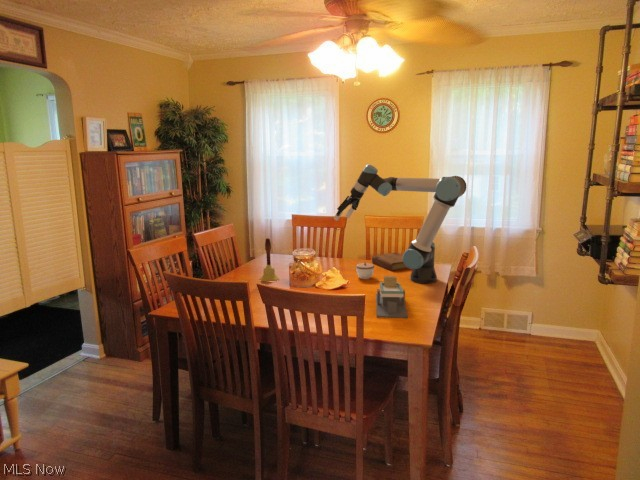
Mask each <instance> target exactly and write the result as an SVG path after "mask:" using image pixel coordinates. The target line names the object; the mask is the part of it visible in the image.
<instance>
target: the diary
mask: <svg viewBox="0 0 640 480" xmlns="http://www.w3.org/2000/svg"><path fill="white" fill-rule="evenodd" d="M371 260H372V261H371V264H373V265H376V266H378V267H381V268H383V269H385V270H388V271H390V272H395V271H402V270H409V269H410V268H408V267H407V266H406V265H405V264H404V262H403V254H400V253H398V252H393V253H385V254H377V255H373V256H372V259H371Z"/></svg>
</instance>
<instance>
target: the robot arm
mask: <svg viewBox="0 0 640 480" xmlns="http://www.w3.org/2000/svg"><path fill="white" fill-rule="evenodd" d="M369 186H370V187H371V188H373V190H375V191H376V192H377V193H378V194H379V195H381V196H383V197H387V196H388V195H389V194H390V192H393V191H394V192H395V191H396V192H399V191H401V192H418V193H434V195H433V196H432V197H433V200H434V202H433V203H432V205H431V208H430V210H429V212H428V214H427V216H426V218H425V220H424V222H423V224H422V225H421V228H420V230H419V232H418V233H417V237H416V239H413V240H411V242H410V244H409V246H408V248H407V249H406V250H405V251H404V253H403V254H402V255H403V262H404V264H405V265H406V266H407V267H408V268H410V269H411V273H410V277H409V280H410V281H411V282H414V283H419V284H432V283H435V282H437V281H438V276H437V272H436V269H435V254H436V253H435V251H436V245H435V242H434V241H435V238H436V237H437V234H438V231H439V230H440V228H441V226H442V225H443V222H444V220H445V218H446V216H447V214H448V212H449V210H450V208H453V207H455V206H456V204H457V201H458V199H459V198H461V197H462V196H463V195H464V194H465V193H466V191H467V182H466V180H465V179H464V178H463V177H461V176H459V175H452V176H442V177H441V178H426V177H425V178H424V177H423V178H422V177H394V176H390V177H385V178H383V177H381V176H380V175H379V174H378V169H377V167H376V166H374V165H372V164H366V165H365V167H364V168H363V170H362V171H361V173H360V174H359V176H358V178H357V179H356V180H355V183H354V184H353V186H352V188H351V190H350V196H349V195H347V196H346V198H345V199H344V200H343V201H342V202H341V204H340V205H339V206H338V207H337V211H336V213H335V215H334V217H333V219H334V221H336V222H338V221H339V219H340V218H341V216H342V214H343V213H344V210H346V209H347V208H348V207H349V206H351V207H350V208H349V209H348V210H347V212H346V213H345V215H344V216H345V217H346V218H347V219H350V218H351V216H352V214H353V213H354V211H357V209H358V207H359V204H360V201H361V199H362V198H363V197H364V194H365V193H366V191H367V189H368V188H369Z"/></svg>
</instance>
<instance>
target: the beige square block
mask: <svg viewBox="0 0 640 480" xmlns="http://www.w3.org/2000/svg"><path fill="white" fill-rule="evenodd" d="M397 278H398V277H397V275H384V276H383V283H384V287H396V286H397V283H398V282H397Z"/></svg>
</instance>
